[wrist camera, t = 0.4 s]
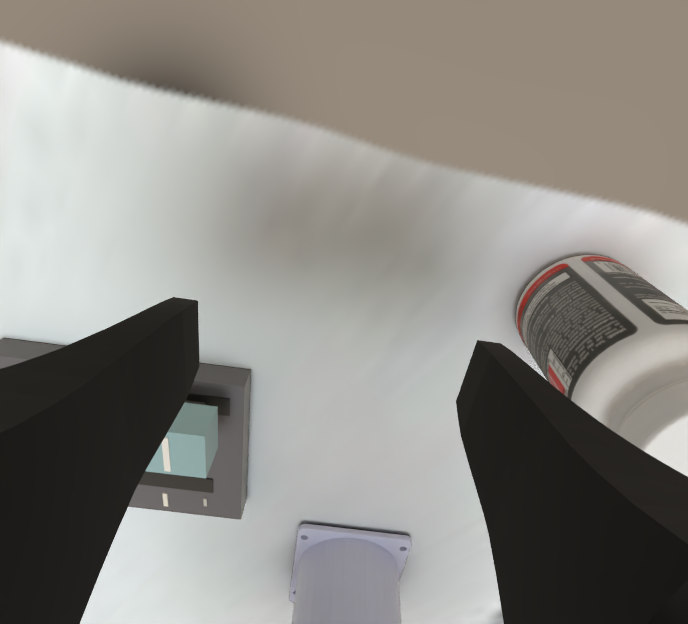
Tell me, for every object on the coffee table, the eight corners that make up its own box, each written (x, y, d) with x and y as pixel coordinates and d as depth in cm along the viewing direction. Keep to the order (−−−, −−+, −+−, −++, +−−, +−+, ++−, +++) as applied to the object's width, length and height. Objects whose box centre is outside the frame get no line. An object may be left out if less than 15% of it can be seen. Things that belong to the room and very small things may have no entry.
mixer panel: (246, 499, 29) (240, 520, 28) (44, 475, 29) (28, 496, 27) (251, 369, 24) (244, 387, 23) (3, 338, 24) (-20, 354, 22)
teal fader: (224, 430, 24) (205, 480, 21) (158, 422, 24) (130, 471, 21) (224, 390, 22) (204, 438, 19) (154, 382, 22) (123, 428, 19)
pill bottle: (526, 366, 23) (625, 540, 15) (499, 278, 21) (599, 424, 12) (640, 330, 22) (822, 498, 13) (625, 232, 20) (837, 359, 11)
